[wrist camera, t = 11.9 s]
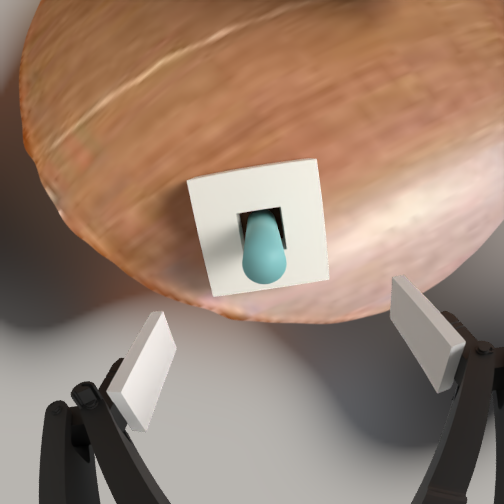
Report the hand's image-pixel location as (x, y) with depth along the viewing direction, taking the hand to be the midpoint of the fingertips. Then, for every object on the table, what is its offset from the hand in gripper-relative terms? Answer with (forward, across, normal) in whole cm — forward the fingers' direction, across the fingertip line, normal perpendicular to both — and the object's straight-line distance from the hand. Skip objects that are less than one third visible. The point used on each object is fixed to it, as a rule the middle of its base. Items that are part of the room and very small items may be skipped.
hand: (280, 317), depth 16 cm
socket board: (+27, -1, -1) cm, 27 cm away
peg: (+27, -1, -1) cm, 27 cm away
